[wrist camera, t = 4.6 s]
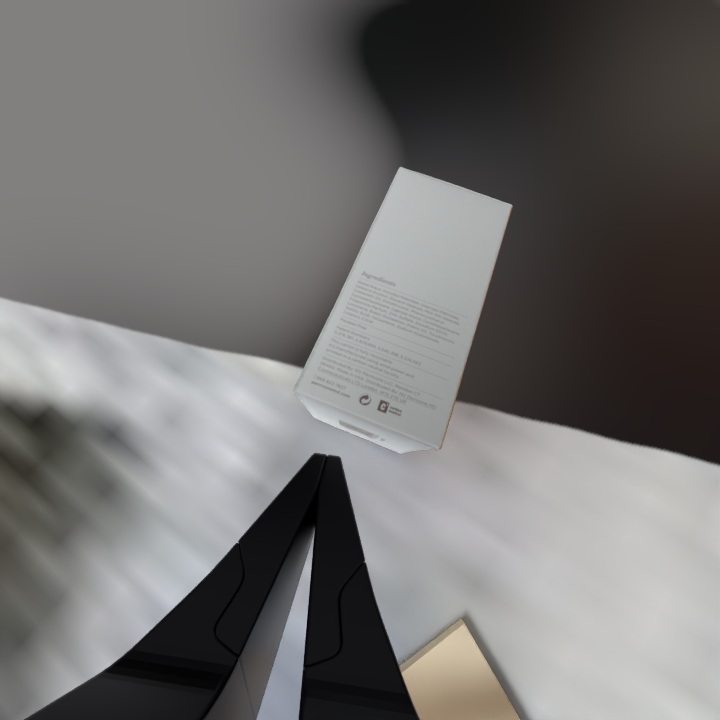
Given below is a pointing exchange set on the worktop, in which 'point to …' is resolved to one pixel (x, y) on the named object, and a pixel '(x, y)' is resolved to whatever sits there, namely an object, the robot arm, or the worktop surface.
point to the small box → (407, 315)
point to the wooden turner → (455, 680)
